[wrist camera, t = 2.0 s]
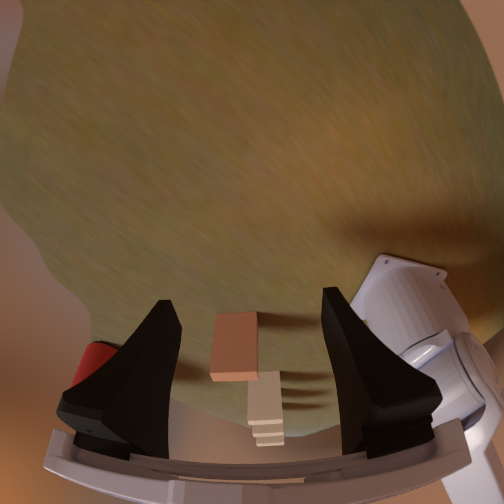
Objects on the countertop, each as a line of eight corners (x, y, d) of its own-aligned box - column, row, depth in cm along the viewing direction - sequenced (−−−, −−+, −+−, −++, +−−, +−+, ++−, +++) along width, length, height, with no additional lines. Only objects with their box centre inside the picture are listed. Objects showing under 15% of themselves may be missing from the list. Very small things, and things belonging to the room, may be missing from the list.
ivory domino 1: (248, 372, 35) (247, 420, 29) (279, 370, 35) (282, 419, 29) (249, 378, 36) (249, 425, 30) (279, 376, 35) (282, 423, 30)
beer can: (134, 353, 33) (111, 435, 23) (126, 373, 37) (107, 444, 27) (89, 332, 31) (57, 411, 22) (86, 355, 35) (61, 424, 25)
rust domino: (216, 314, 28) (209, 372, 23) (256, 311, 28) (256, 371, 22) (219, 323, 29) (213, 381, 24) (257, 321, 29) (258, 379, 23)
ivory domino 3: (256, 403, 40) (256, 443, 35) (281, 402, 40) (283, 442, 34) (257, 407, 41) (257, 446, 36) (282, 406, 41) (284, 444, 35)
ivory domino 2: (252, 389, 38) (252, 433, 32) (280, 388, 37) (283, 432, 32) (253, 394, 38) (253, 436, 33) (281, 392, 38) (283, 435, 32)
